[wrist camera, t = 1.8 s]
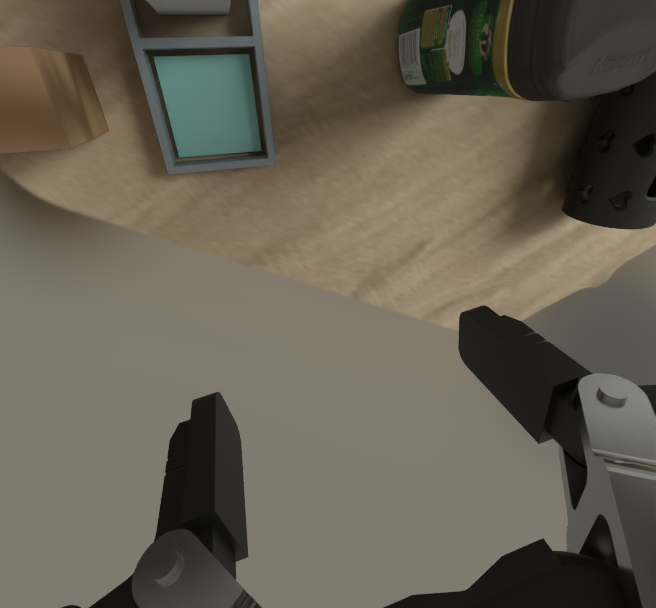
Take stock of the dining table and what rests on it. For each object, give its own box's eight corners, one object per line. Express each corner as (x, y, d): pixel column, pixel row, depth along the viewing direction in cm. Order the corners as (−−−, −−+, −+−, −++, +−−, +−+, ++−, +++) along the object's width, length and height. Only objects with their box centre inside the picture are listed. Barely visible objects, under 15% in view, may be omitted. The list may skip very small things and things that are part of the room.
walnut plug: (5, 57, 25) (-85, 48, 17) (83, 55, 25) (28, 46, 18) (40, 134, 27) (-25, 155, 20) (109, 130, 28) (70, 148, 21)
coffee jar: (496, -30, 29) (789, -144, 14) (486, 80, 34) (700, 81, 19) (390, -10, 28) (586, -111, 13) (395, 101, 33) (545, 120, 18)
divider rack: (87, -137, 21) (28, -232, 15) (240, -126, 23) (248, -206, 16) (170, 169, 31) (158, 193, 24) (273, 160, 33) (286, 181, 26)
